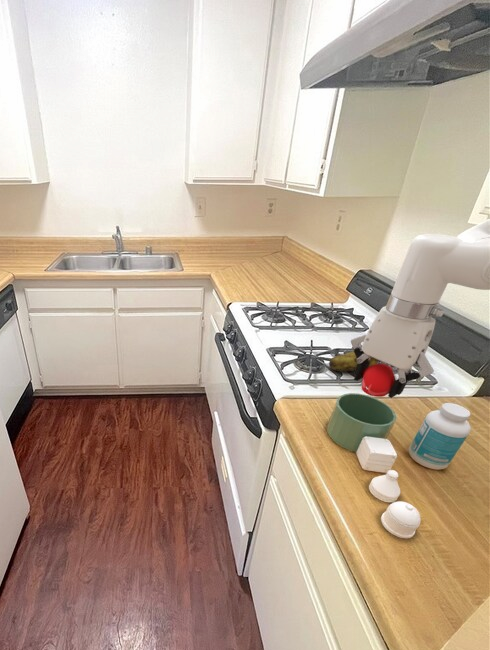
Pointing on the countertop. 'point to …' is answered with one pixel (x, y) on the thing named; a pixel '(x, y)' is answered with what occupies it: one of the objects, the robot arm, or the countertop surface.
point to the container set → (387, 486)
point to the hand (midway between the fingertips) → (375, 386)
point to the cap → (378, 380)
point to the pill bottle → (440, 436)
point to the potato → (347, 362)
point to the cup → (359, 420)
